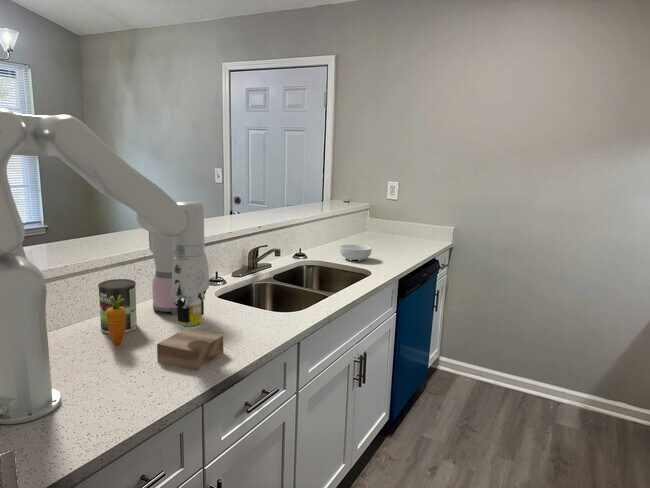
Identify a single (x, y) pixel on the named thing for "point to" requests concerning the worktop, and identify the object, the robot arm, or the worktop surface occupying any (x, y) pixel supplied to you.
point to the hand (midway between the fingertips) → (191, 317)
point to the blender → (162, 272)
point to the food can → (115, 289)
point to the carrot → (116, 321)
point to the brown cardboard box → (190, 349)
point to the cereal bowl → (355, 251)
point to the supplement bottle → (193, 313)
